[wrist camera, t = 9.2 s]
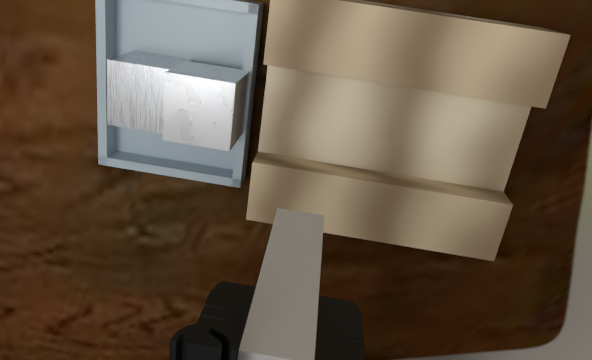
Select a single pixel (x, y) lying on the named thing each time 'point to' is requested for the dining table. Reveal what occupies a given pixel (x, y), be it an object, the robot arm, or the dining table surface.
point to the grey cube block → (138, 89)
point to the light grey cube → (205, 105)
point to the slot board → (397, 120)
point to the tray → (186, 44)
